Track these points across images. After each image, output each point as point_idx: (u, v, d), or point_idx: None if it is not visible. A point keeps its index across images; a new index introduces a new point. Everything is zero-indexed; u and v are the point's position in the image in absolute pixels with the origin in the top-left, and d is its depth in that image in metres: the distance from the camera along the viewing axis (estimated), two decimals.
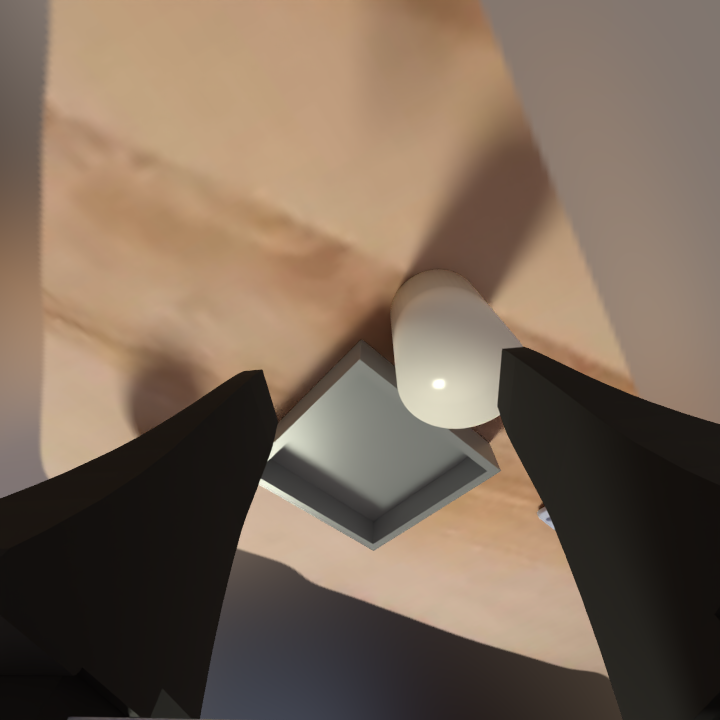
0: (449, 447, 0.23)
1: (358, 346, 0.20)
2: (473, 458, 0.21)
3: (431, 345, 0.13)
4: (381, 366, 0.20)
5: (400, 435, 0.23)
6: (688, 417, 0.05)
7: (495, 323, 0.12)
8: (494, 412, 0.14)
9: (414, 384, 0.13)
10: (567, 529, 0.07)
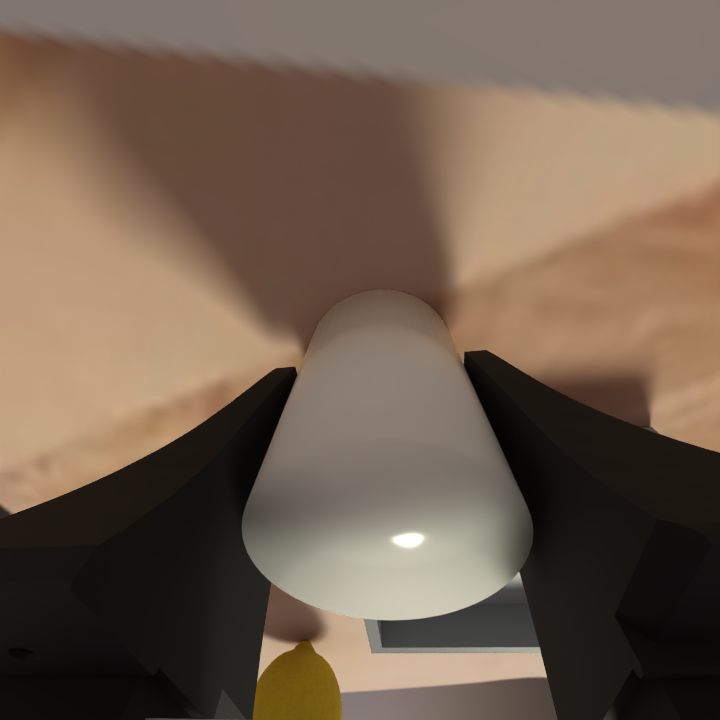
0: None
1: None
2: None
3: (275, 544, 0.06)
4: None
5: None
6: (617, 421, 0.05)
7: (312, 447, 0.05)
8: (515, 548, 0.06)
9: (332, 593, 0.07)
10: None
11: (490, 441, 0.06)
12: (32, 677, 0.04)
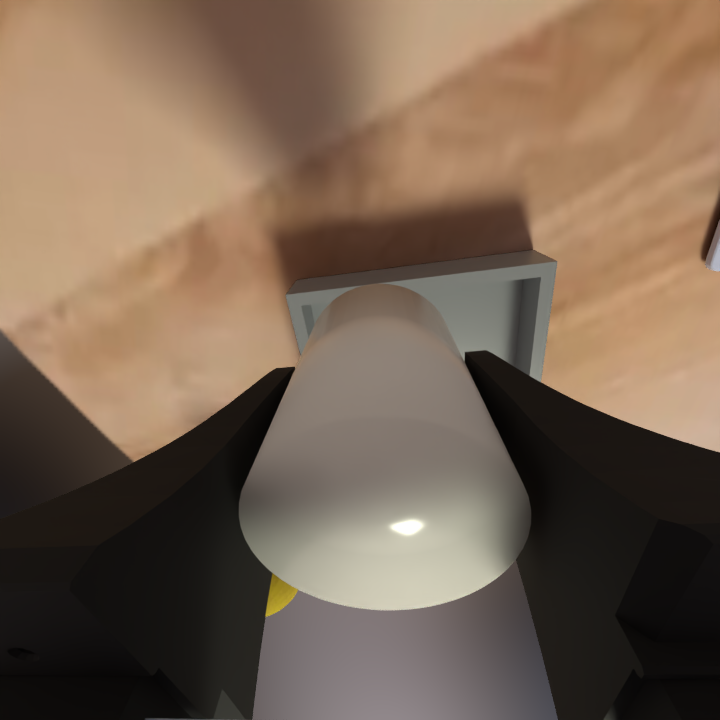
0: (488, 295, 0.17)
1: None
2: (506, 278, 0.15)
3: (272, 530, 0.06)
4: (322, 283, 0.17)
5: None
6: (618, 421, 0.05)
7: (305, 427, 0.05)
8: (514, 530, 0.06)
9: (332, 581, 0.07)
10: None
11: (485, 421, 0.06)
12: (32, 677, 0.04)
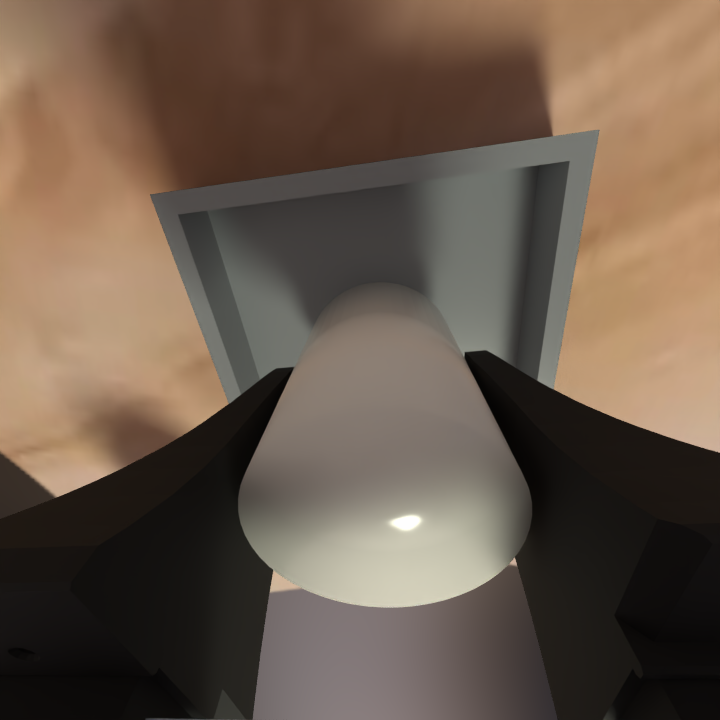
0: (481, 213, 0.11)
1: None
2: (510, 164, 0.09)
3: (272, 525, 0.06)
4: None
5: (389, 270, 0.12)
6: (617, 421, 0.05)
7: (302, 419, 0.05)
8: (514, 522, 0.06)
9: (333, 578, 0.07)
10: None
11: (483, 412, 0.06)
12: (32, 677, 0.04)
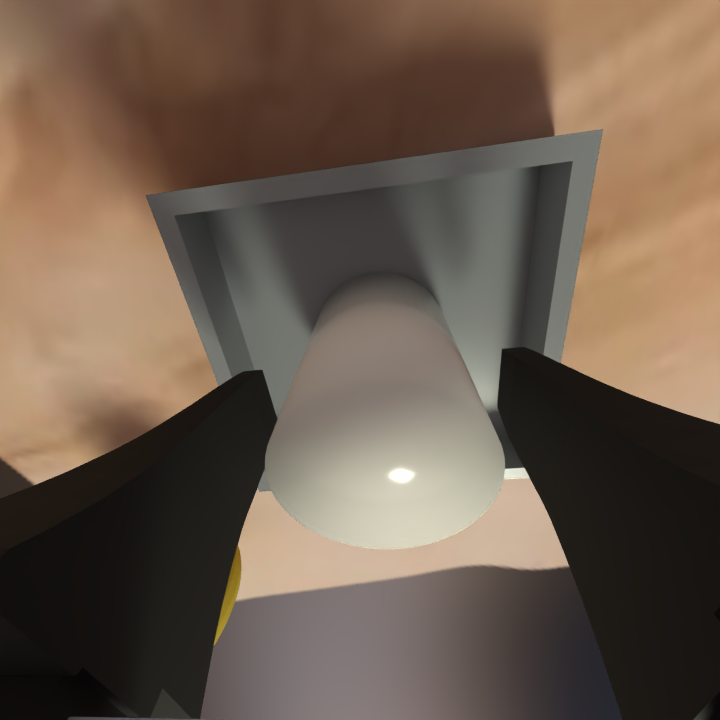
0: (482, 214, 0.11)
1: None
2: (512, 164, 0.09)
3: (292, 479, 0.07)
4: None
5: (389, 272, 0.12)
6: (688, 417, 0.05)
7: (319, 390, 0.06)
8: (491, 474, 0.07)
9: (342, 524, 0.08)
10: (567, 529, 0.07)
11: (466, 385, 0.07)
12: None
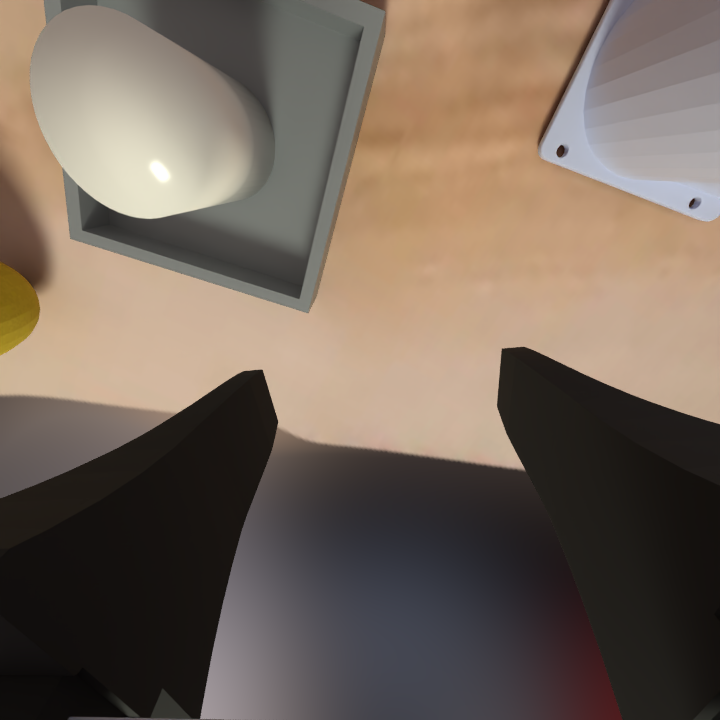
0: (319, 66, 0.14)
1: None
2: (325, 6, 0.12)
3: (51, 94, 0.10)
4: None
5: (240, 82, 0.15)
6: (688, 417, 0.05)
7: (83, 8, 0.09)
8: (199, 154, 0.10)
9: (87, 168, 0.10)
10: (567, 529, 0.07)
11: (204, 86, 0.10)
12: None
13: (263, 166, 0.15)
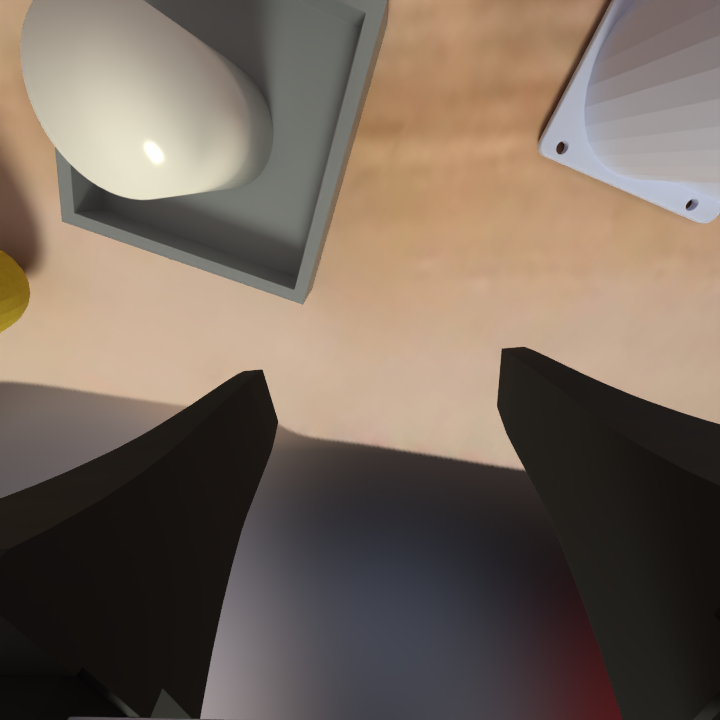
0: (320, 53, 0.14)
1: None
2: None
3: (42, 67, 0.09)
4: None
5: None
6: (688, 417, 0.05)
7: None
8: (194, 134, 0.10)
9: (78, 144, 0.10)
10: (567, 529, 0.07)
11: (201, 65, 0.10)
12: None
13: (260, 153, 0.15)
